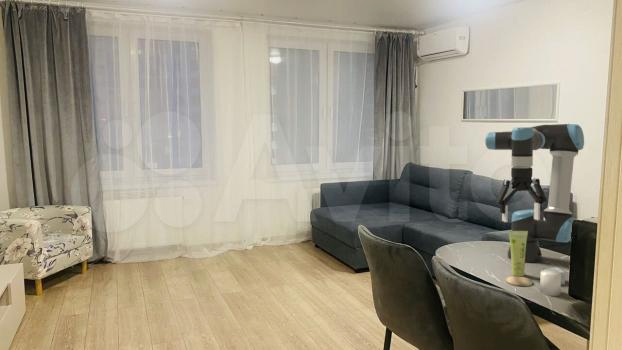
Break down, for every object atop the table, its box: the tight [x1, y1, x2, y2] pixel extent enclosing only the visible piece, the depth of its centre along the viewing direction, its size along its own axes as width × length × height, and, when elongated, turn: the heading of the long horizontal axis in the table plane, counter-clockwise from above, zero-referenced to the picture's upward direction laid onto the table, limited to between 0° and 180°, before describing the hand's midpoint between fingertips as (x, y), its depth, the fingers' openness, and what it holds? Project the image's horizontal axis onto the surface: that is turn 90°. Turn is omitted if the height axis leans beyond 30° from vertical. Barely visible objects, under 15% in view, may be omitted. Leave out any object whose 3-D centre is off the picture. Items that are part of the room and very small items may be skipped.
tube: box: [508, 230, 528, 277], centre depth 195 cm, size 6×5×20 cm
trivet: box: [505, 275, 533, 287], centre depth 188 cm, size 10×10×1 cm
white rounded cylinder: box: [539, 269, 562, 297], centre depth 175 cm, size 7×7×8 cm
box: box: [542, 267, 566, 285], centre depth 187 cm, size 6×6×5 cm
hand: (520, 220), depth 180 cm, fingers open, 13 cm apart
